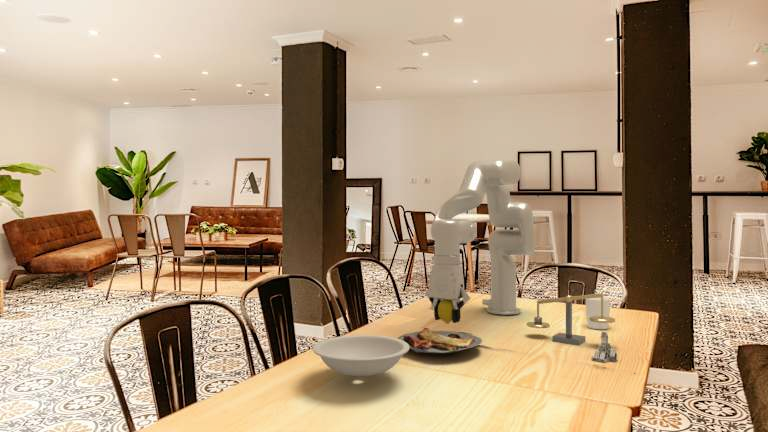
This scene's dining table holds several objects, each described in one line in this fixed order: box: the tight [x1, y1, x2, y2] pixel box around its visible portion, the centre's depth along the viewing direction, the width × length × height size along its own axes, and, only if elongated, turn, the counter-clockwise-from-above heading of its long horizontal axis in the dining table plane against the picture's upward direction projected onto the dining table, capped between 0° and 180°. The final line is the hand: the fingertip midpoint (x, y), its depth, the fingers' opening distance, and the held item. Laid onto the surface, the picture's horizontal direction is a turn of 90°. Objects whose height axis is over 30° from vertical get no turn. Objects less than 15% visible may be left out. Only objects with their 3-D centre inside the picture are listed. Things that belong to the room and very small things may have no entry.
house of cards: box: [590, 331, 618, 364], centre depth 140 cm, size 9×9×8 cm
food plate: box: [397, 327, 483, 355], centre depth 157 cm, size 25×23×4 cm
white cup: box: [585, 296, 611, 330], centre depth 181 cm, size 8×8×10 cm
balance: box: [526, 292, 616, 346], centre depth 162 cm, size 27×7×16 cm, turn 51°
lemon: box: [438, 299, 454, 325], centre depth 160 cm, size 6×6×8 cm
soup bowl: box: [312, 334, 410, 377], centre depth 132 cm, size 24×24×7 cm
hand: (447, 320), depth 160 cm, fingers closed on lemon, 5 cm apart
